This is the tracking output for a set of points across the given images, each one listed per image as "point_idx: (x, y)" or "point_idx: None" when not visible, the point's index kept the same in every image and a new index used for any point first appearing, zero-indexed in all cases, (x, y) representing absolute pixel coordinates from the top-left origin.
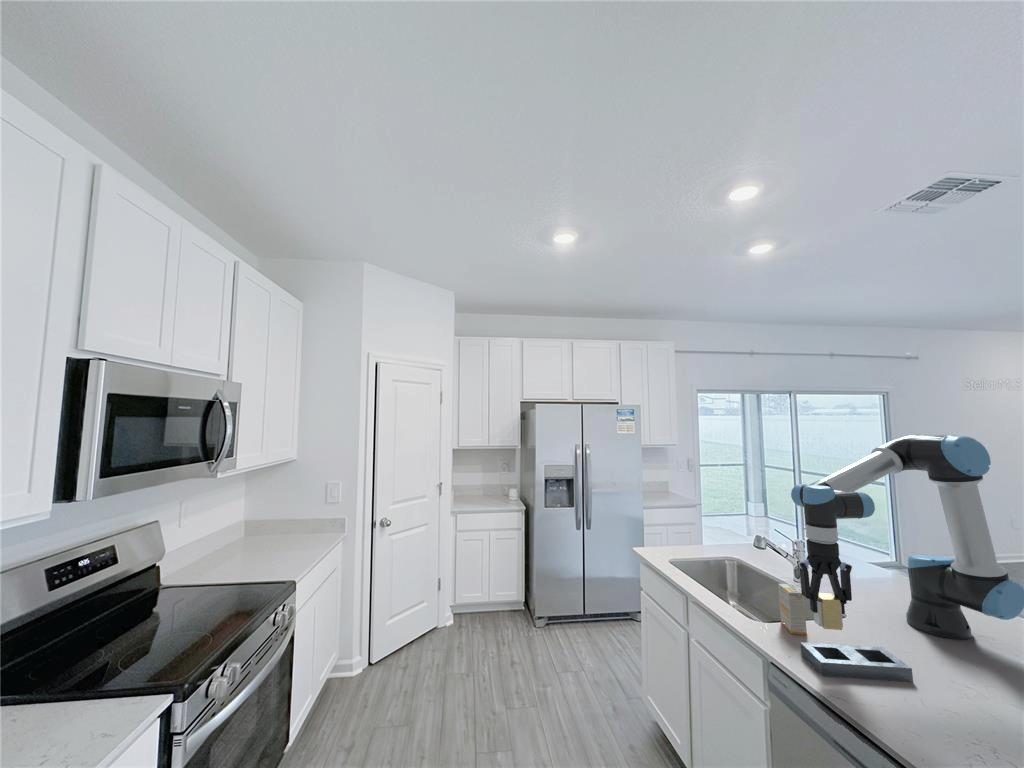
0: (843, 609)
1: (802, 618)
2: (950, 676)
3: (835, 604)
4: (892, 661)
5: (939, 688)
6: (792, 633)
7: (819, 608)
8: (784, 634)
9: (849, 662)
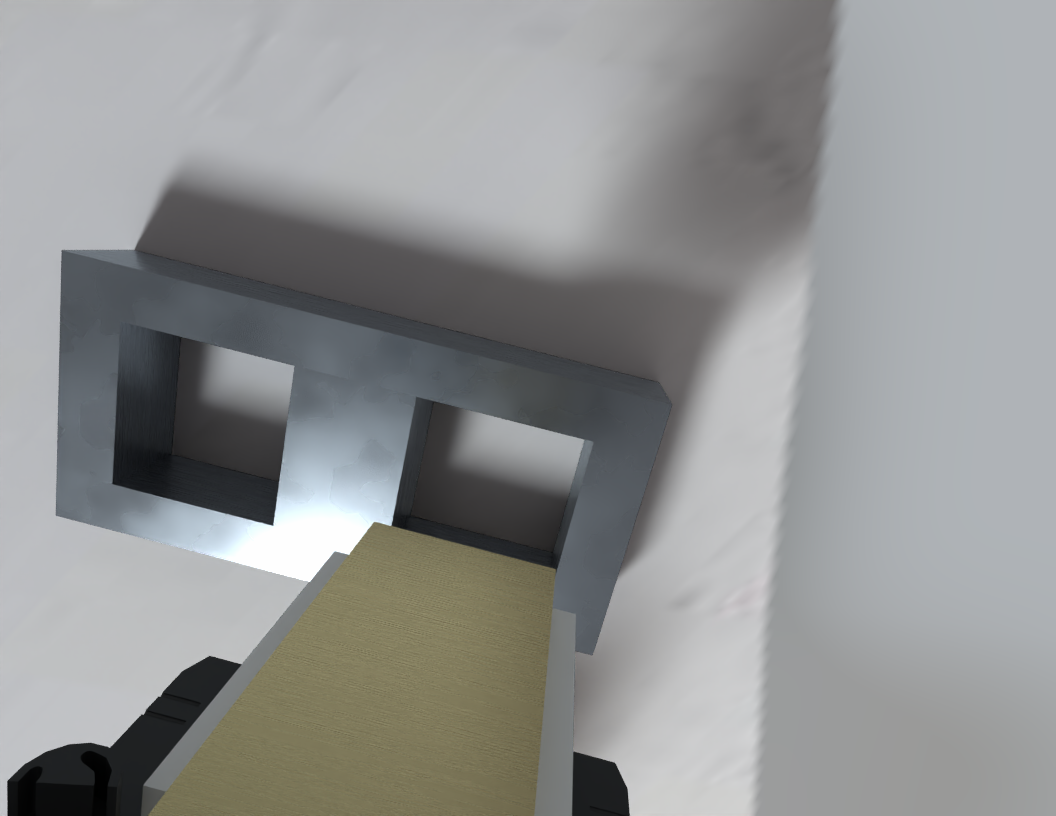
0: (171, 706)
1: None
2: None
3: (288, 770)
4: (124, 359)
5: (26, 173)
6: None
7: (557, 786)
8: None
9: (455, 373)
